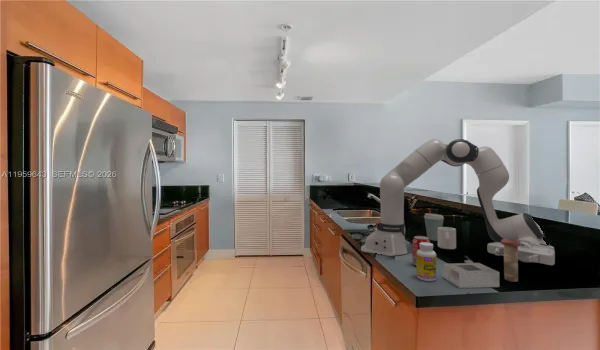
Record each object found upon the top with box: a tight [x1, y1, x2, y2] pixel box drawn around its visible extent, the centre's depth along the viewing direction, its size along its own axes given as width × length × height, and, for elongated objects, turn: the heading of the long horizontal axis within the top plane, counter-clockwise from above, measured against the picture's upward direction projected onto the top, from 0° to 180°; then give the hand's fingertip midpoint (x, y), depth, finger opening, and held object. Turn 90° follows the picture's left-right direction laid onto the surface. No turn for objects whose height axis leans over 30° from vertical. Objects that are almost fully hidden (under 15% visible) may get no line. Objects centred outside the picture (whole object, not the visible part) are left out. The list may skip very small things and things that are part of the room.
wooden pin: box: [501, 239, 521, 283], centre depth 100 cm, size 6×6×14 cm
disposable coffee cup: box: [423, 213, 445, 242], centre depth 163 cm, size 11×11×15 cm
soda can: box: [411, 235, 431, 267], centre depth 116 cm, size 7×7×12 cm
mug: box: [437, 226, 457, 250], centre depth 144 cm, size 12×9×10 cm
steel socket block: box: [442, 262, 501, 289], centre depth 98 cm, size 14×10×5 cm
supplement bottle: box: [416, 242, 437, 282], centre depth 102 cm, size 7×7×13 cm
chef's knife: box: [463, 255, 474, 263], centre depth 120 cm, size 19×1×3 cm
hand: (511, 256), depth 101 cm, fingers open, 8 cm apart
